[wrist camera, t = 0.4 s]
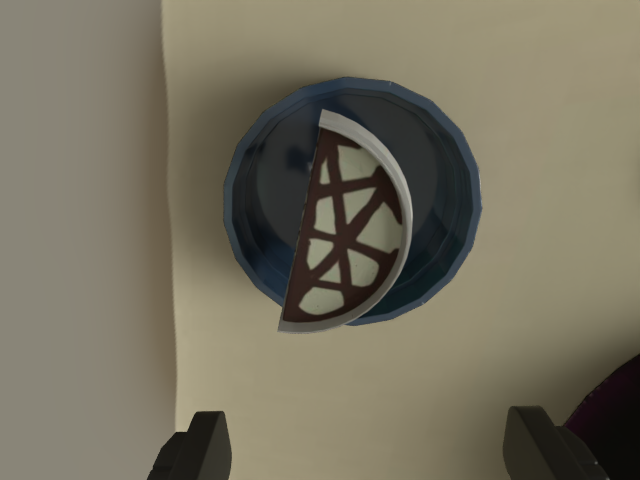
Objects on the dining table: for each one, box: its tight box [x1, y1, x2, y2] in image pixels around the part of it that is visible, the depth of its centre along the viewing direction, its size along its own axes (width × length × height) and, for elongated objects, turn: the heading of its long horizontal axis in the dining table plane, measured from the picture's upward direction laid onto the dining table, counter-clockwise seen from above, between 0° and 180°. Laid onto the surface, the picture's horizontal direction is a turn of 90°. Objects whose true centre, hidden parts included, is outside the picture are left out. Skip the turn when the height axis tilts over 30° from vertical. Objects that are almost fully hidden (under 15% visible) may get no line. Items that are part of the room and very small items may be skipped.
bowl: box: [224, 77, 482, 326], centre depth 27 cm, size 16×16×5 cm
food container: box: [277, 109, 413, 334], centre depth 25 cm, size 12×6×10 cm, turn 168°
